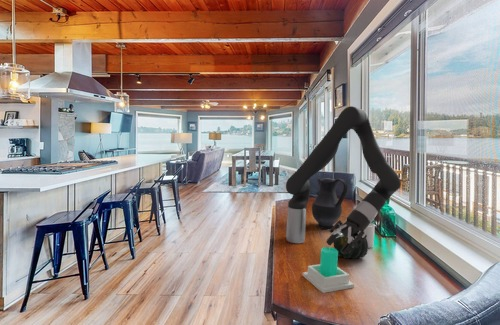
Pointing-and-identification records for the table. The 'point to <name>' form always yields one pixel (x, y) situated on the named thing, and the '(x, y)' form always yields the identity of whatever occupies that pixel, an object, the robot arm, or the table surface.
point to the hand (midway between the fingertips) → (334, 248)
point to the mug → (370, 234)
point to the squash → (354, 251)
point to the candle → (328, 261)
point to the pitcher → (328, 203)
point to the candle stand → (327, 279)
